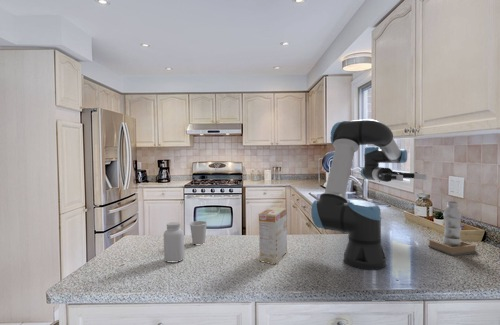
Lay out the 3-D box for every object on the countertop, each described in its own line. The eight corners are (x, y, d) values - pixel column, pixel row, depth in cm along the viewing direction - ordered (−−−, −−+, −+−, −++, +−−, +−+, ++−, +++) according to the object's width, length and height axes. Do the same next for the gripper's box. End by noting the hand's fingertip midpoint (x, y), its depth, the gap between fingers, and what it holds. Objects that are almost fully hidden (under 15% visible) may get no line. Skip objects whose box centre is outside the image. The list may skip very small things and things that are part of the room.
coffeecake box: (272, 250, 123) (271, 206, 122) (287, 252, 120) (287, 207, 119) (258, 262, 110) (257, 213, 109) (275, 265, 106) (274, 214, 106)
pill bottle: (178, 254, 119) (177, 220, 119) (188, 259, 114) (187, 223, 113) (160, 259, 114) (159, 223, 113) (170, 265, 108) (169, 227, 108)
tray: (454, 255, 112) (454, 248, 112) (428, 246, 124) (428, 239, 124) (476, 252, 115) (476, 245, 115) (449, 243, 127) (449, 237, 127)
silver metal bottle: (454, 245, 122) (455, 200, 122) (465, 251, 116) (465, 203, 115) (439, 245, 123) (439, 200, 122) (448, 250, 116) (449, 203, 116)
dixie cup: (202, 247, 128) (201, 225, 128) (186, 245, 131) (186, 224, 131) (210, 241, 136) (210, 221, 136) (195, 240, 139) (195, 220, 139)
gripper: (401, 180, 156) (435, 184, 136) (363, 182, 150) (392, 186, 130) (401, 167, 156) (435, 168, 136) (363, 168, 150) (392, 170, 130)
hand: (414, 177), depth 133 cm, fingers open, 13 cm apart
